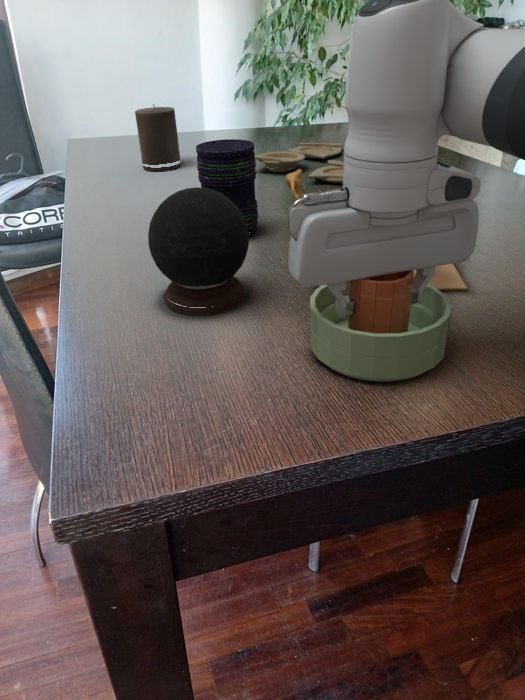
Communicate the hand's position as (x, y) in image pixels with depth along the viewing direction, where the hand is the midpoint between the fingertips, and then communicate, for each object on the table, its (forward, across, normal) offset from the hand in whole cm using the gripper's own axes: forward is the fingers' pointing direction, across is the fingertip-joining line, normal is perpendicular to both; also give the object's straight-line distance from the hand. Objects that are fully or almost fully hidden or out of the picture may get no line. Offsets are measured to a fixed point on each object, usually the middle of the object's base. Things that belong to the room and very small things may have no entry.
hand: (378, 308), depth 63 cm
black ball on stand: (+5, -16, +21) cm, 27 cm away
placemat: (+5, +12, +20) cm, 24 cm away
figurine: (+5, +4, +36) cm, 36 cm away
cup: (+4, 0, 0) cm, 4 cm away
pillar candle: (+5, -11, +100) cm, 100 cm away
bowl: (+5, 0, 0) cm, 5 cm away
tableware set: (+5, +28, +82) cm, 87 cm away
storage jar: (+5, -6, +45) cm, 45 cm away
